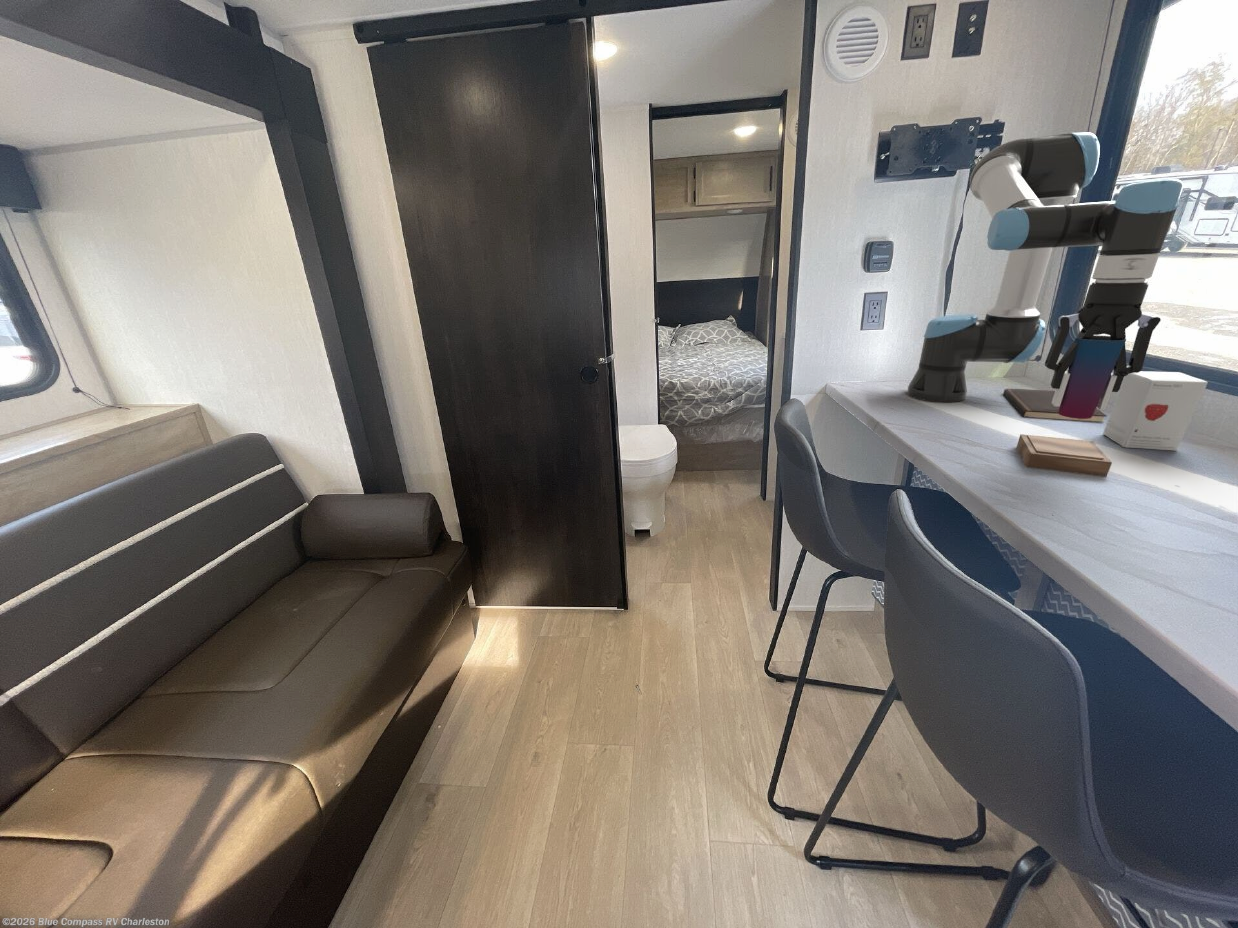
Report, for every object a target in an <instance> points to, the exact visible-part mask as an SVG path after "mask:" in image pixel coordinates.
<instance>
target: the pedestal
mask: <svg viewBox="0 0 1238 928" xmlns="http://www.w3.org/2000/svg"><path fill="white" fill-rule="evenodd" d="M1016 448H1017V450H1018V453H1019V455H1020V457H1021V458H1022V459H1023V462H1024V464H1025V466H1026V468H1033V469H1041V470H1048V471H1049V470H1050V471H1055V472H1056V471H1057V472H1067V473H1072V474H1080V475H1091V476H1096V477H1097V476H1099V477H1107V476H1108V474H1109V471H1110V468H1111V466H1112V464H1113V461H1111V459H1110V458H1109V457H1108V456H1107V455H1106V454H1105V453H1104V452H1103V450H1102V449H1100V447H1099V446H1098V445H1097V444H1096V443H1095V442H1094V441H1092V440H1085V439H1084V440H1083V439H1082V440H1081V439H1073V438H1062V437H1051V436H1042V435H1032V434H1031V435H1030V434H1024V433H1023V434H1019V438H1018V441H1017V443H1016Z"/></svg>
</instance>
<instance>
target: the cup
mask: <svg viewBox="0 0 1238 928" xmlns="http://www.w3.org/2000/svg"><path fill="white" fill-rule="evenodd" d="M1074 341H1075V343H1077V342H1079V344H1078V348H1077V352H1076V356H1075V359H1074V361H1073V362H1072V363H1071V365H1070V366H1069V367H1068V369H1067V372H1068V373H1070V376H1069V379H1068V382H1067V386H1066V389H1065V392H1064V395H1063V398H1062V401H1061V404H1060V407H1059V411H1058V414H1059V415H1062V416H1065V417H1070V418H1077V419H1089V418H1092V416H1093V414H1094V412H1095V409H1096V408H1098V407H1097V405H1098V403H1099V400H1100V398H1101V396H1102V393H1103V391H1104V389H1105V387H1106V384H1107V382H1108V380H1109V378H1110V375H1111V373H1113V372H1114V371H1113V369H1114V366H1115V364H1116V362H1117V359H1118V357H1119V355H1120V353H1121V350H1122V348H1123V346H1124V344H1125V345H1126V342H1127V338H1125V340H1120V341H1111V337H1110V335H1093V337H1092V338H1091V339H1090V340H1087V339H1081V338H1078V337H1077V336H1076V337H1075V339H1074Z"/></svg>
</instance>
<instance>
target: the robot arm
mask: <svg viewBox="0 0 1238 928" xmlns="http://www.w3.org/2000/svg"><path fill="white" fill-rule="evenodd" d="M1100 148H1101V147H1100V142H1099V140H1098V137H1097V136H1096V135H1095V134H1094V133H1092V132H1069V133H1063V134H1061V133H1060V134H1054V135H1045V136H1039V137H1032V138H1030V137H1029V138H1018V139H1015V140H1011V141H1007V142H1005V143H1003V144H1000V145H999V146H997V147H995V148H993V149H991V150H990V151H989V152H988V153H987V154H985V155H984V156H982V157H981V159H979V161H978V162H977V163H976V165H975V166H974V168H973V169H972V172H971V174H970V176H969V188H970V191H971V193H972V194H973V196H974V197H975V199H978V200H980V201H982V202H983V204H984V206H985V207H986V209H987V211H988V213H989V215H990V217H991V221H990V224H989V227H988V231H987V236H986V237H987V238H986V239H987V246H988V248H989V249H990V250H992V251H1001V250H1004V251H1009V253H1008V257H1007V260H1006V264H1005V268H1004V271H1003V275H1002V279H1001V281H1000V287H999V290H998V294H997V298H996V302H995V305H994V306H993V307H992V308H991V309H990V310H989V309H988V310H987V312H986V314H985V317H984V319H979V317H978V315H977V314H974V313H965V314H964V313H961V314H960V313H959V314H952V315H949V314H948V315H944V316H939V317H936V318H933V319H931V320H930V321H928V323H927V326H926V330H925V333H924V335H923V337H924V338H923V343H922V348H921V354H920V359H919V363H918V368H917V371H916V372H915V374H914V375H913V377H912V379H911V380H910V382H909V383H908V386H907V392H906V395H908V396H909V397H910V398H914V399H917V400H922V401H927V402H934V403H936V402H937V403H955V402H961V401H964V400H965V399H966V398H967V394H968V388H967V387H968V386H967V381H966V380H967V379H966V374H965V373H966V367H967V363H969V362H973V363H975V362H977V363H1003V364H1009V363H1022V362H1025V361H1028V360H1029V359H1030V358H1032V357H1033V356H1034V355H1035V354H1036V353H1037V351H1038V350H1039V348H1040V346H1041V344H1042V342H1043V340H1044V338H1045V333H1046V332H1045V330H1046V322H1045V321H1044V320H1043V319H1041V318H1040V316H1041V312H1040V311H1039V310H1038V308H1037V307H1036V305H1037V301H1038V298H1039V296H1040V292H1041V288H1042V285H1043V282H1044V279H1045V276H1046V272H1047V268H1048V266H1049V262H1050V258H1051V255H1052V252H1053V248H1070V247H1071V248H1073V247H1075V248H1076V247H1096V246H1097V247H1101V249H1100V252H1099V254H1098V255H1099V256H1098V259H1097V262H1096V265H1095V268H1094V271H1093V274H1092V277H1091V278H1092V279H1093V280H1095V281H1094V282H1091V283H1090V284H1089V285H1088V290H1087V293H1086V297H1085V299H1084V302H1083V304H1082V308H1080V309H1079V310H1078V311H1077V313H1074V314H1069V315H1063V314H1062V315H1059V316H1057V330H1056V332H1055V336H1054V339H1053V341H1052V344H1051V346H1050V349H1049V351H1048V353H1047V356H1046V359H1045V360H1044V361H1045V362H1044V367H1046V368H1047V369H1049V370H1052V371H1054V373H1053V376H1052V379H1051V382H1050V387H1051V388H1052V389H1054V391H1055V393H1054V397H1053V400H1052V404H1053V405H1054V406H1059V407H1060V404H1061V401H1062V398H1063V395H1064V392H1065V389H1066V386H1067V382H1068V379H1069V376H1070V373H1068V369H1069V366H1070V365H1071V363H1072V362H1073V361H1074V359H1075V356H1076V352H1077V348H1078V344H1079V342H1077V343H1075V340H1073V342H1072V344H1071V345H1070V346H1069V347H1068V348H1067V350H1066V352H1065V353H1064V354H1063V356H1062V357H1061V358H1060V356H1061V353H1062V351H1063V349H1064V346H1065V343H1066V340H1067V337H1068V335H1069V332H1070V329H1071V327H1073V326H1074V325H1075V322H1076V321H1078V322H1079V323H1080V325H1081V326H1082V328H1081V330H1080V331H1079V332H1078V333H1077V336H1076V337H1078V338H1081V339H1087V340H1090V339H1091V338H1092V337H1093V335H1098V336H1101V335H1106V336H1110V337H1111V341H1120V340H1125V339H1127V336H1126V334H1127V333H1126V329H1127V328H1129V327H1130V326H1131V325H1133V324H1134V323H1135V322H1138V323H1137V327H1138V329H1137V332H1136V336H1135V339H1134V341H1133V342H1134V343H1133V346H1132V347H1133V348H1132V350H1131V355H1130V357H1129V362H1128V363H1127V353H1126V352H1127V351H1126V349H1127V348H1126V343H1125V344H1124V346H1123V348H1122V350H1121V353H1120V355H1119V357H1118V359H1117V362H1116V364H1115V366H1114V369H1113V371H1112V373H1111V375H1110V378H1109V380H1108V382H1107V384H1106V387H1105V389H1104V391H1103V393H1102V396H1101V398H1100V400H1099V403H1098V405H1097V407H1096V408H1097V409H1098V410H1100V411H1103V410H1104V411H1106V408H1107V406H1108V404H1109V400H1110V397H1111V395H1112V393H1119V391H1120V388H1121V386H1122V383H1123V381H1124V378H1125V376H1127V375H1128V374H1130V373H1138V372H1140V371H1142V370H1143V366H1144V364H1145V363H1144V362H1145V359H1146V356H1147V353H1148V349H1149V345H1150V343H1151V339H1152V338H1151V337H1152V336H1153V331H1154V330H1155V329H1156V327H1157V326H1158V325H1159V324H1160V322H1161V318H1160V317H1159V316H1155V315H1147V314H1143V312H1142V305H1143V301H1144V298H1145V296H1146V294H1147V290H1148V288H1149V285H1150V284H1149V282H1148V281H1146V280H1147V279H1150V278H1152V276H1153V274H1154V270H1155V268H1156V265H1157V262H1158V260H1159V256H1160V254H1161V252H1162V251H1161V250H1162V248H1163V246H1164V243H1165V240H1166V237H1167V235H1168V233H1169V230H1170V227H1171V224H1172V222H1173V220H1174V216H1175V214H1176V210H1177V208H1178V207H1179V206H1180V198H1181V195H1182V191H1183V188H1184V182H1182V180H1180V179H1162V180H1161V179H1160V180H1150V181H1149V180H1148V181H1142V182H1140V181H1139V182H1135V183H1130V184H1126V185H1124V186H1123V187H1122V188H1121V189H1120V190H1119V192H1118V195H1117V197H1116V199H1115V200H1111V201H1109V200H1108V201H1098V202H1083V203H1070V202H1071V201H1073V200H1075V198H1077V195H1078V193H1079V190H1082V189H1084V188H1086V187H1087V186H1088V185H1089V184H1091V182H1092V181H1093V177H1094V176H1095V174H1096V172H1097V169H1098V166H1099V160H1100V159H1099V158H1100ZM1059 358H1060V360H1059ZM1058 360H1059V361H1058Z"/></svg>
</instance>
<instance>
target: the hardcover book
mask: <svg viewBox="0 0 1238 928" xmlns="http://www.w3.org/2000/svg"><path fill="white" fill-rule="evenodd" d="M1054 393H1055V390H1045V389H1044V390H1043V389H1042V390H1041V389H1022V388H1005V389H1004V390H1003V393H1002V394H1003V396H1005V398H1006V399H1007V400H1008V401H1009V402H1010V403H1011V404H1012V406H1013V407H1014V408H1015V409H1016V410H1017V411H1018V413H1019V414H1022V415H1021V416H1022V417H1023V416H1028V417H1027V418H1039V419H1040V418H1041V419H1054V420H1056V419H1057V420H1070V421H1085V422H1096V423H1097V422H1100V423H1101V422H1102V423H1103V419H1104V418H1105V417H1107V414H1105V413H1104V412H1103V411H1102V410H1101V409H1099V408H1098V407H1096V409H1095V412H1094V414H1093V416H1092V418H1089V419H1077V418H1070V417H1065V416H1062V415H1059V414H1058V411H1059V406H1054V405H1053V404H1052V400H1053V397H1054Z"/></svg>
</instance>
